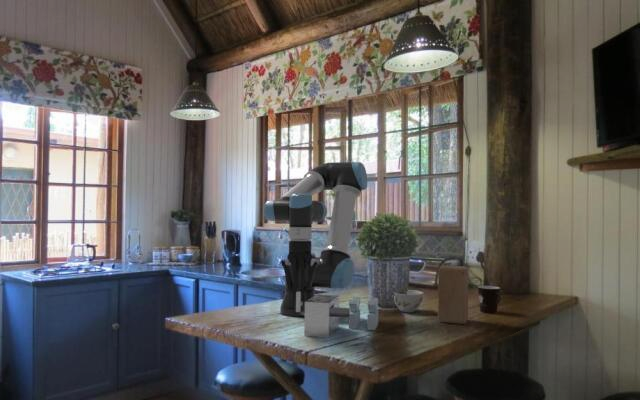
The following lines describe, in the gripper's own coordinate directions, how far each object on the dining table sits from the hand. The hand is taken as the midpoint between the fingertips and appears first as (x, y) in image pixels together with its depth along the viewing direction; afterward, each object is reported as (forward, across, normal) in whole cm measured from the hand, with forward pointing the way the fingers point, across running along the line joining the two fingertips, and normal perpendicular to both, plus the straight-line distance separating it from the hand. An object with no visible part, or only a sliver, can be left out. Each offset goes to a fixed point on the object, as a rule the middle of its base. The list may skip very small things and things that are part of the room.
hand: (299, 311), depth 169 cm
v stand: (+7, +19, +14) cm, 25 cm away
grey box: (+7, +7, +3) cm, 10 cm away
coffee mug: (+7, +64, +54) cm, 84 cm away
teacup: (+7, +33, +49) cm, 59 cm away
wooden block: (+7, +50, +33) cm, 60 cm away
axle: (+1, +9, 0) cm, 9 cm away
